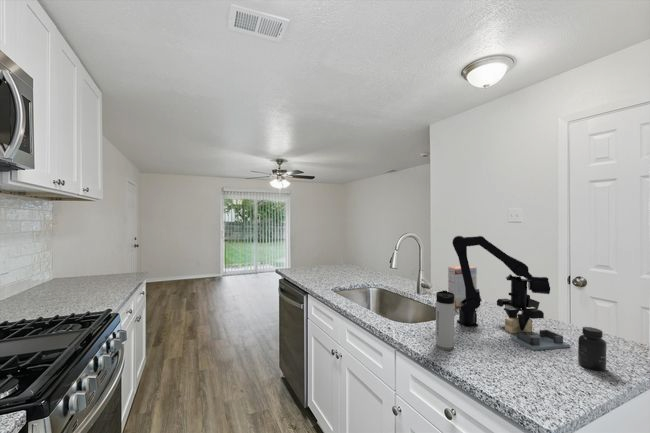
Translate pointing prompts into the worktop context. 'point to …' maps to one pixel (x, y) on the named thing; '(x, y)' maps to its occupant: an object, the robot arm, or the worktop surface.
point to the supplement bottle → (592, 349)
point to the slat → (516, 325)
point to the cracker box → (459, 283)
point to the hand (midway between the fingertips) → (518, 328)
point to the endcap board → (540, 340)
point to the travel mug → (445, 320)
